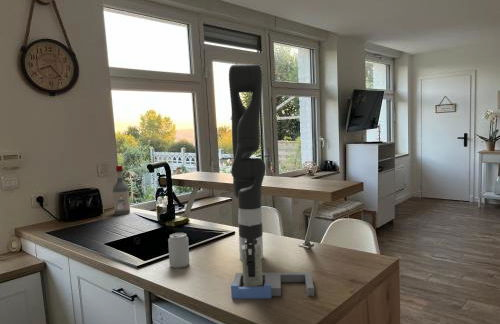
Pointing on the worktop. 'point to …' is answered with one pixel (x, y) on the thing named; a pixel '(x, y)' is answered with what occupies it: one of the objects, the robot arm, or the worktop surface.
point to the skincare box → (258, 268)
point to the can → (178, 250)
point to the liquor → (121, 194)
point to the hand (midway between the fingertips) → (252, 273)
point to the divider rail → (270, 285)
